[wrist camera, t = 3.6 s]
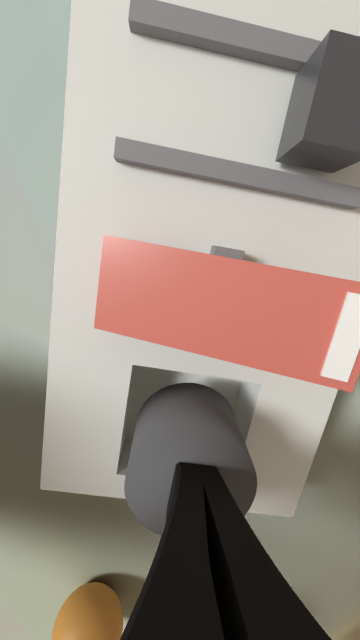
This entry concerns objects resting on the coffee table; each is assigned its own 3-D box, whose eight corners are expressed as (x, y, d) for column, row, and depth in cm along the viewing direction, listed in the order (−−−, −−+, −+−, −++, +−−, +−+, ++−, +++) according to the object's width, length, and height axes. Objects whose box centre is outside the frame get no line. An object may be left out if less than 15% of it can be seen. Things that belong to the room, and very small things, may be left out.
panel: (271, 470, 17) (302, 538, 13) (64, 443, 16) (29, 509, 12) (395, 71, 12) (507, -16, 8) (102, -1, 11) (64, -140, 7)
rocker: (339, 376, 9) (353, 394, 8) (110, 320, 10) (92, 328, 9) (370, 283, 8) (393, 288, 7) (120, 237, 10) (102, 234, 8)
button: (223, 474, 13) (240, 545, 10) (129, 463, 13) (116, 532, 10) (245, 390, 12) (272, 440, 9) (143, 375, 12) (133, 422, 9)
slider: (332, 173, 9) (373, 154, 8) (275, 161, 9) (302, 139, 7) (356, 91, 9) (407, 48, 7) (295, 77, 9) (330, 29, 7)
